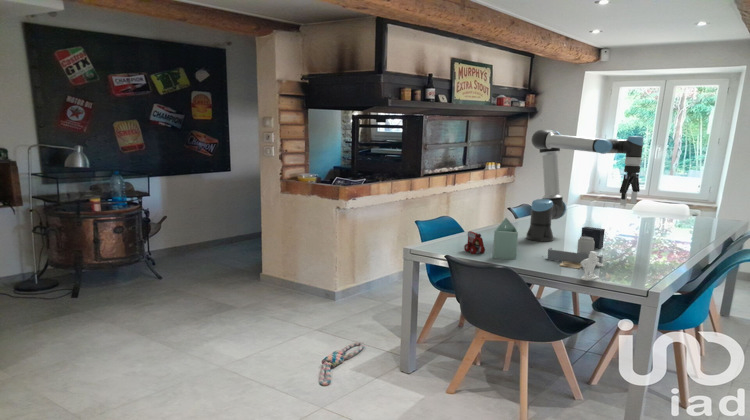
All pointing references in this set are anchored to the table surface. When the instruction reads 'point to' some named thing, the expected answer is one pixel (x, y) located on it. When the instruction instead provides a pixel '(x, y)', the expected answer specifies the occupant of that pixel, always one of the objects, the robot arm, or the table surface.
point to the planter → (505, 241)
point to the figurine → (590, 266)
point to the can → (585, 245)
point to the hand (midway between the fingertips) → (628, 204)
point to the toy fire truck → (474, 243)
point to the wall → (569, 256)
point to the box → (594, 235)
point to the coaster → (571, 264)
